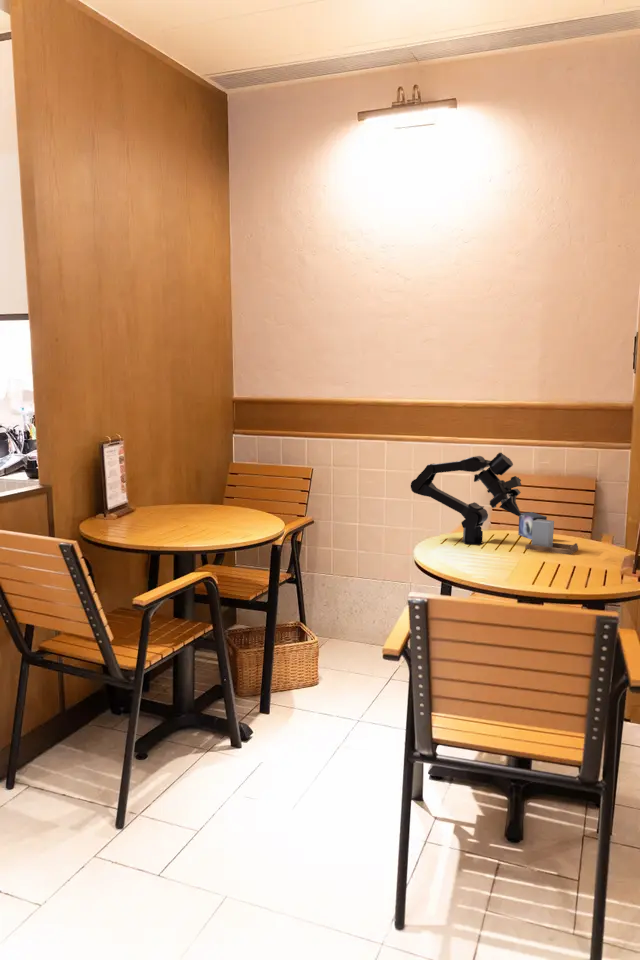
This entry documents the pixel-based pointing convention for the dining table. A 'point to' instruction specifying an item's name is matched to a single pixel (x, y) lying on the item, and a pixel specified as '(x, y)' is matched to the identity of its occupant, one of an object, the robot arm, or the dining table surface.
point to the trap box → (555, 548)
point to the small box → (528, 523)
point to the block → (542, 533)
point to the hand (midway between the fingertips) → (520, 515)
